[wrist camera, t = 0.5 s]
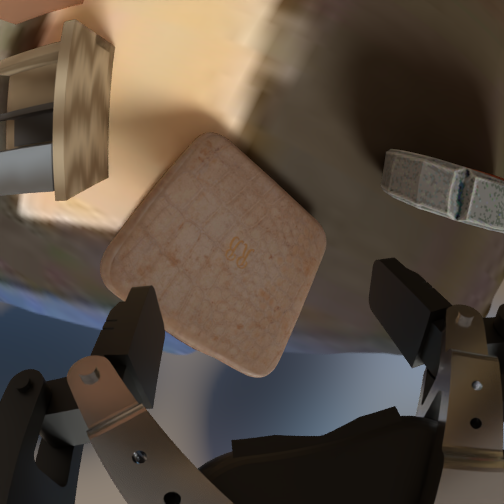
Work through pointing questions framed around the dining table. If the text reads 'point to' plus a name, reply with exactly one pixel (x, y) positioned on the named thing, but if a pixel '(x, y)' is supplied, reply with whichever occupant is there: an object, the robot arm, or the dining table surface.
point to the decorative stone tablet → (445, 189)
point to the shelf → (57, 115)
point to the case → (220, 255)
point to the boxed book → (31, 8)
